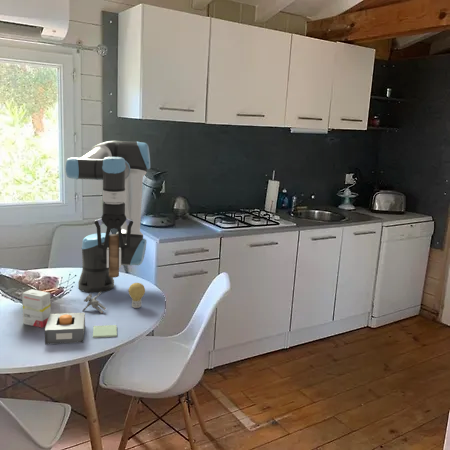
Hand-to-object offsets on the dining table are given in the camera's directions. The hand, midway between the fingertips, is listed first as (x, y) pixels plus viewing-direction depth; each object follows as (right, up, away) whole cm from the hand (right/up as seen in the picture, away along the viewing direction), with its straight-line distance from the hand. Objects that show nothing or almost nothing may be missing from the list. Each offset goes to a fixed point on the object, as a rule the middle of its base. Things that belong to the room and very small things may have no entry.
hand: (113, 266), depth 174 cm
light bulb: (+5, -18, +19) cm, 27 cm away
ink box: (-27, -21, 0) cm, 34 cm away
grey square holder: (-15, -23, -7) cm, 28 cm away
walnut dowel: (0, -4, +1) cm, 4 cm away
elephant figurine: (-10, -18, +15) cm, 26 cm away
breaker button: (-15, -20, -8) cm, 26 cm away
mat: (-2, -23, -4) cm, 23 cm away
